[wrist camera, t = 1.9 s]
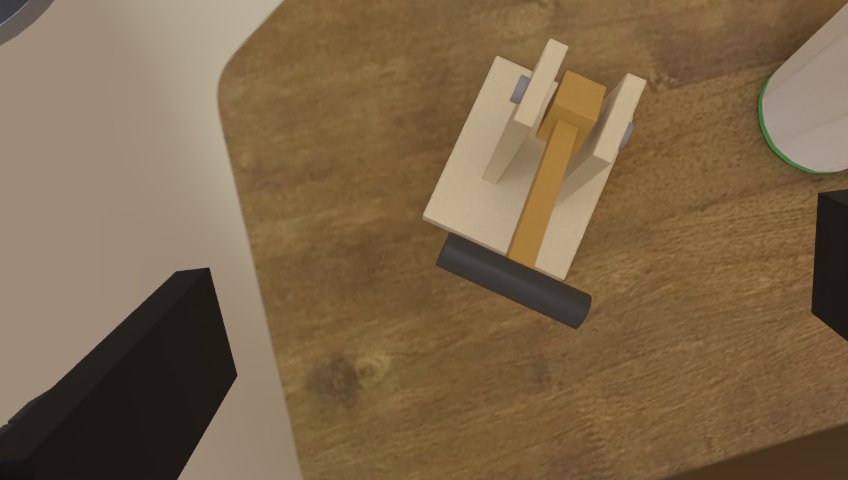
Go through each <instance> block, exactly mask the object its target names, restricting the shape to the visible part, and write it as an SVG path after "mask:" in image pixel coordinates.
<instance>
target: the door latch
mask: <svg viewBox="0 0 848 480" xmlns="http://www.w3.org/2000/svg"><path fill="white" fill-rule="evenodd" d="M567 50H568V46H566V45H564V44H562V43H559V42H557V41H555V40H553V39H549V40H548V42H547V44H546V46H545V48H544V50H543V52H542V54H541V56H540V58H539V60H538V62H537V64H536V66H535V68H534V70H533V71H531V70H528V69H526V68H524V67H522V66H519V65H517V64H515V63H513V62H510V61H508V60H506V59H504V58H501V57H499V56H496V58H495V60H494V62H493V64H492V66H491V69H490V71H489V73H488V75H487V77H486V79H485V82H484V84H483V86H482V88H481V90H480V92H479V95H478V97H477V99H476V101H475V103H474V105H473V107H472V110H471V112H470V114H469V116H468V118H467V120H466V123H465V125H464V127H463V129H462V131H461V133H460V136H459V138H458V140H457V142H456V144H455V146H454V149H453V151H452V153H451V155H450V157H449V159H448V161H447V164H446V166H445V168H444V170H443V172H442V174H441V177H440V179H439V181H438V183H437V185H436V187H435V190H434V192H433V194H432V196H431V198H430V200H429V203H428V205H427V207H426V209H425V211H424V213H423V217H422V219H423V220H425V221H427V222H429V223H431V224H433V225H436V226H438V227H440V228H442V229H444V230H447V231H449V232H453V233H455V234H457V235H459V236H461V237H464V238H466V239H468V240H470V241H472V242H475V243H477V244H479V245H481V246H483V247H486V248H488V249H490V250H492V251H494V252H497V253H499V254H501V255H503V256H505V255H506V252H507V250H508V247H509V244H510V241H511V239H512V236H513V233H514V230H515V228H516V225H517V222H518V220H519V217H520V214H521V211H522V209H523V206H524V203H525V200H526V198H527V195H528V192H529V190H530V187H531V184H532V181H533V179H534V176H535V173H536V170H537V168H538V165H539V162H540V160H541V157H542V154H543V151H544V149H545V146H546V143H547V142H545V141H542V140H540V139H538V138H536V137H535V136H536V133H537V131H538V128H539V125H540V123H541V120H542V118H543V115H544V113H545V110H546V107H547V105H548V103H549V101H550V99H551V97H552V95H553V93H554V91H555V90H556V88H557V86H558V84H559V83H557V82H555V81H554V79H555V77H556V75H557V72H558V70H559V68H560V66H561V63H562V61H563V59H564V57H565V54H566V52H567ZM645 85H646V81H645V80H643V79H641V78H639V77H636V76H634V75H632V74H630V73H627V74H626V76H625V77H624V78H623V79H622V80H621V81H620V82H619V83H618V85H617V86H616V87H615V88H614V89H613V90H612V91H611V93H610V94H609V95H608V96H607V97H606V98H605V99H604V100H603V102H602V106H601V109H600V112H599V116H598V119H597V122H596V123H595V125H594V127H593V128H592V130H591V131H590V133H589V135H588V136H587V138H586V139H585V141H584V143H583V144H582V146H581V147H580V149H579V151H578V152H577V154H576V155H574V154H571V155H570V158H569V161H568V164H567V167H566V171H565V174H564V177H563V180H562V183H561V186H560V189H559V192H558V195H557V198H556V201H555V204H554V208H553V211H552V214H551V217H550V220H549V223H548V226H547V229H546V232H545V235H544V238H543V241H542V245H541V248H540V251H539V254H538V257H537V260H536V263H535V266H534V270H536V271H538V272H541V273H543V274H545V275H547V276H549V277H552V278H554V279H556V280H558V281H562V280H564V279H565V277H566V275H567V273H568V270H569V268H570V265H571V263H572V261H573V258H574V256H575V254H576V251H577V249H578V247H579V244H580V242H581V240H582V237H583V235H584V232H585V230H586V228H587V225H588V223H589V221H590V218H591V216H592V214H593V211H594V209H595V207H596V204H597V202H598V199H599V197H600V195H601V192H602V190H603V188H604V185H605V183H606V181H607V178H608V176H609V174H610V171H611V169H612V166H613V164H614V162H615V159H616V157H617V155H618V152H619V150H621V149H622V148H623V147H624V146H625V144H626V143H627V141H628V139H629V137H630V135H631V133H632V130H633V124H632V123H631V122H632V119H633V116H632V115H633V113H634V110H635V108H636V106H637V103H638V101H639V99H640V96H641V94H642V92H643V89H644V87H645Z"/></svg>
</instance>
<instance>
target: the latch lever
mask: <svg viewBox="0 0 848 480" xmlns="http://www.w3.org/2000/svg"><path fill="white" fill-rule="evenodd" d="M606 89H607V87H605V86H603V85H600V84H598V83H596V82H594V81H591V80H589V79H587V78H585V77H582V76H580V75H578V74H576V73H573V72H571V71H569V70H566V71H565V72H564V74H563V76H562V78H561V80H560V82H559V84H558V86H557V88H556V90H555V91H554V93H553V95H552V97H551V99H550V101H549V103H548V105H547V107H546V110H545V113H544V115H543V118H542V120H541V123H540V125H539V128H538V131H537V133H536V136H535V137H536V138H538V139H540V140H542V141H545V142H547V143H546V146H545V149H544V151H543V154H542V157H541V160H540V162H539V165H538V168H537V170H536V173H535V176H534V179H533V181H532V184H531V187H530V190H529V192H528V195H527V198H526V200H525V203H524V206H523V209H522V211H521V214H520V217H519V220H518V222H517V225H516V228H515V230H514V233H513V236H512V239H511V241H510V244H509V247H508V250H507V252H506V255H505V256H503V255H501V254H499V253H497V252H494V251H492V250H490V249H488V248H486V247H483V246H481V245H479V244H477V243H475V242H472V241H470V240H468V239H466V238H464V237H461V236H459V235H457V234H455V233H453V232H450V233H449V235H448V237H447V240H446V242H445V244H444V246H443V248H442V251H441V253H440V255H439V257H438V259H437V262H436V266H438V267H440V268H443V269H445V270H447V271H449V272H451V273H454V274H456V275H458V276H460V277H462V278H464V279H467V280H469V281H471V282H473V283H475V284H478V285H480V286H482V287H484V288H486V289H489V290H491V291H493V292H495V293H497V294H500V295H502V296H504V297H506V298H508V299H510V300H513V301H515V302H517V303H519V304H521V305H524V306H526V307H528V308H530V309H532V310H535V311H537V312H539V313H541V314H543V315H546V316H548V317H550V318H552V319H554V320H556V321H559V322H561V323H563V324H565V325H567V326H570V327H572V328H574V329H577V328H578V327H580V325H581V324H582V323H583V321H584V320H585V318H586V316H587V314H588V311H589V309H590V306H591V300H592V297H591V296H590V295H589V294H587V293H585V292H582V291H580V290H578V289H576V288H574V287H571V286H569V285H567V284H565V283H563V282H560V281H558V280H556V279H554V278H552V277H549V276H547V275H545V274H543V273H541V272H538V271H536V270H534V266H535V263H536V260H537V257H538V254H539V251H540V248H541V245H542V241H543V238H544V235H545V232H546V229H547V226H548V223H549V220H550V217H551V214H552V211H553V208H554V204H555V201H556V198H557V195H558V192H559V189H560V186H561V183H562V180H563V177H564V174H565V171H566V167H567V164H568V161H569V158H570V155H571V154H574V155H576V154H577V152H578V151H579V149H580V147H581V146H582V144H583V143H584V141H585V139H586V138H587V136H588V135H589V133H590V131H591V130H592V128H593V127H594V125H595V123H596V122H597V119H598V116H599V112H600V109H601V106H602V102H603V99H604V96H605V92H606Z"/></svg>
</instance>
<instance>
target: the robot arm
mask: <svg viewBox="0 0 848 480" xmlns="http://www.w3.org/2000/svg"><path fill="white" fill-rule="evenodd" d="M811 313H813V314H814V315H815V316H816V317H818V318H819V319H820V320H821V321H823V322H824V323H825V324H826V325H828V326H829V327H830V328H832V329H833V330H834V331H835V332H837V333H838V334H839V335H840V336H842V337H843V338H844V339H845V340H847V341H848V189H846V190H838V191H830V192H822V193H818V205H817V222H816V240H815V257H814V275H813V292H812V310H811ZM236 377H237V372H236V368H235V364H234V360H233V357H232V353H231V349H230V345H229V342H228V337H227V334H226V330H225V326H224V323H223V318H222V315H221V311H220V307H219V303H218V300H217V295H216V292H215V288H214V284H213V280H212V277H211V272H210V269H209V268H201V269H194V270H184V271H176V272H175V273H174V274H173V275H172V276H171V277H170V278H169V279H168V280H166V281H165V282H164V283H163V284H162V285H161V286H160V287H159V288H158V289H157V290H156V291H155V292H154V293H153V294H152V295H151V296H149V297H148V298H147V299H146V301H144V302H143V303H142V304H141V305H140V306H139V307H138V308H137V309H136V310H134V311H133V312H132V313H131V314H130V315H129V316H128V317H127V318H126V319H125V320H124V321H123V322H122V323H121V324H120V325H119V326H117V327H116V328H115V329H114V330H113V331H112V332H111V333H110V334H109V335H108V336H107V337H106V338H105V339H104V340H103V341H102V342H100V343H99V344H98V345H97V346H96V347H95V348H94V349H93V350H92V351H91V352H90V353H89V354H88V355H87V356H85V357H84V358H83V359H82V360H81V361H80V362H79V363H78V364H77V365H76V366H75V367H74V368H73V369H72V370H71V371H70V372H68V373H67V374H66V375H65V376H64V377H63V378H62V379H61V380H60V381H59V382H58V383H57V384H56V385H55V386H53V387H52V388H51V389H49V390H48V391H46V392H45V393H43V394H41V395H40V396H38V397H36V398H35V399H33V400H31V401H30V402H28V403H27V404H26V405H25V406H24V407H23V408H22V409H21V410H20V411H19V412H17V413H16V414H15V415H14V416H13V417H12V418H11V419H10V420H9V421H8V424H7V425H3V426H2V427H1V428H0V480H177V479H178V477H179V476H180V474H181V472H182V470H183V469H184V467H185V465H186V463H187V462H188V460H189V458H190V457H191V455H192V453H193V451H194V450H195V448H196V446H197V445H198V443H199V441H200V439H201V438H202V436H203V434H204V432H205V431H206V429H207V427H208V426H209V424H210V422H211V420H212V418H213V417H214V415H215V413H216V412H217V410H218V408H219V407H220V405H221V403H222V401H223V400H224V398H225V396H226V395H227V393H228V391H229V389H230V388H231V386H232V384H233V382H234V381H235V379H236Z"/></svg>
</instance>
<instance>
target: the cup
mask: <svg viewBox="0 0 848 480" xmlns="http://www.w3.org/2000/svg"><path fill="white" fill-rule="evenodd" d="M758 115H759V122H760V127H761V129H762V132H763V134H764V136H765V138H766V140H767V142H768V144H769V146H770V148H771V149H772V150H773V151H774V152H775V153H776V154H778V155H779V156H780V157H781V158H782V159H783V160H785V161H786V162H787V163H788V164H790V165H792V166H794V167H797V168H799V169H801V170H804V171H806V172H809V173H835V172H838V171H842V170H845V169H848V3H847V4H846V5H845V6H844V7H843V8H842V9H840V10H839V11H838V12H837V13H836V14H835V15H834V16H833V17H832V18H831V19H830V20H829V21H828V22H827V23H826V24H825V25H824V26H823V27H822V28H821V29H819V30H818V31H817V32H816V33H815V34H814V35H813V36H812V37H811V38H810V39H809V40H808V41H807V42H806V43H805V44H804V45H803V46H802V47H801V48H800V49H798V50H797V51H796V52H795V53H794V54H793V55H792V56H791V57H790V58H789V59H788V60H787V61H786V62H785V63H784V64H783V65H781V66H780V67H779V68H778V69H777V70H776V71H775V72H774V73H773V74H772V75H771V76H770V78H769V79H768V80H767V81H766V82H765V85H764V87H763V89H762V92H761V95H760V98H759V101H758Z"/></svg>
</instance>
